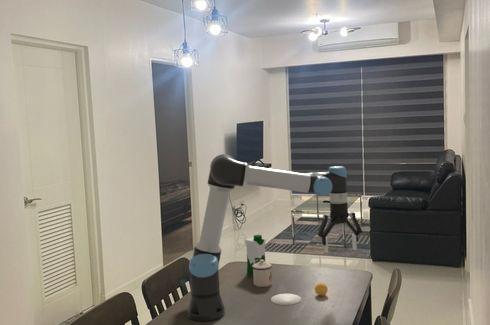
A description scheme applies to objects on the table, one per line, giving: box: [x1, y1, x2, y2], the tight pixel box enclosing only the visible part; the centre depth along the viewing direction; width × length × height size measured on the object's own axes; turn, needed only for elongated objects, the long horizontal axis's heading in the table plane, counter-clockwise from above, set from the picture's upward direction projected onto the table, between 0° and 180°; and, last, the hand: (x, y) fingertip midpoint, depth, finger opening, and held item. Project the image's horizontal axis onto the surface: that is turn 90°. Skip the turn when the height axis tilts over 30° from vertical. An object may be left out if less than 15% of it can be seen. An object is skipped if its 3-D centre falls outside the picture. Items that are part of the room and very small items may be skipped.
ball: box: [314, 282, 328, 297], centre depth 219 cm, size 6×6×6 cm
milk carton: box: [244, 234, 267, 277], centre depth 252 cm, size 9×9×20 cm
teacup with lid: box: [252, 260, 273, 288], centre depth 239 cm, size 12×9×12 cm
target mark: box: [270, 293, 302, 306], centre depth 217 cm, size 13×13×1 cm
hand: (340, 250), depth 220 cm, fingers open, 12 cm apart
